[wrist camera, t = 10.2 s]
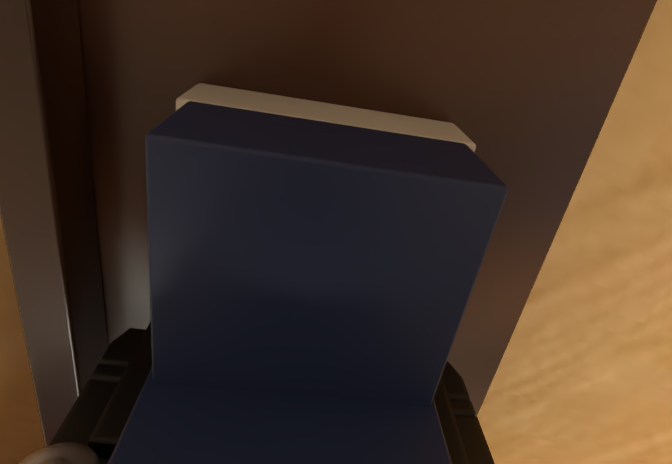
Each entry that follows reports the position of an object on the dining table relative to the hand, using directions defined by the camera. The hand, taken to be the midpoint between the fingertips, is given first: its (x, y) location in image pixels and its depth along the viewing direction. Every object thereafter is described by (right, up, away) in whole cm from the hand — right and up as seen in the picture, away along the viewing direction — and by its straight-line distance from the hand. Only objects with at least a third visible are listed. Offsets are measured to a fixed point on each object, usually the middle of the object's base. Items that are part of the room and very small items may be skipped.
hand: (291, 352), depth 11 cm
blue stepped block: (0, 0, 0) cm, 0 cm away
